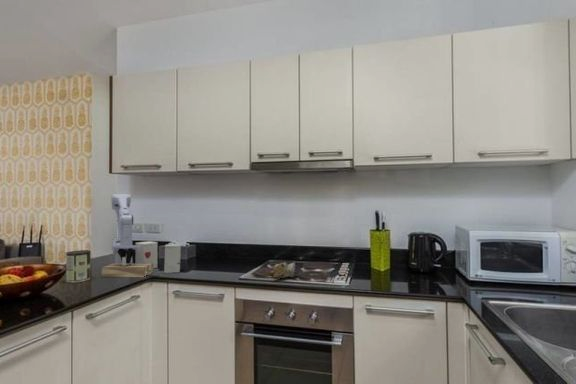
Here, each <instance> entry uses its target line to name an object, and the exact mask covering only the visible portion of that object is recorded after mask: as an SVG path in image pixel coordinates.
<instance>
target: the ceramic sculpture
mask: <svg viewBox="0 0 576 384" xmlns="http://www.w3.org/2000/svg"><path fill="white" fill-rule="evenodd" d="M295 271H296V262H295V261H294V262H292V263H287V262H286V261H283V260H281V261H280V263H277V264H275V265H274V266H273V269H272V270H271V271H269V272H265V273H264V274H265V275H267V276H269V277H271V278H272V279H274V280H280V278H282V279H284V278H285V279H286V277H289V278H293V277H295Z"/></svg>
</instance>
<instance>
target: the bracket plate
mask: <svg viewBox="0 0 576 384" xmlns="http://www.w3.org/2000/svg"><path fill="white" fill-rule="evenodd" d="M129 265H130V263H129V264H127V256H125V257H122V267H126V266H129Z"/></svg>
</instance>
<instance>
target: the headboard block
mask: <svg viewBox="0 0 576 384" xmlns="http://www.w3.org/2000/svg"><path fill="white" fill-rule="evenodd" d="M153 273H154V268H153V263H134V262H132V263H130V265H129V266H126V267H122V263H110V264H108V265H105V266H101V278H145V277H147V276H149V275H151V274H153ZM146 275H147V276H146ZM144 276H145V277H144Z"/></svg>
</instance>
